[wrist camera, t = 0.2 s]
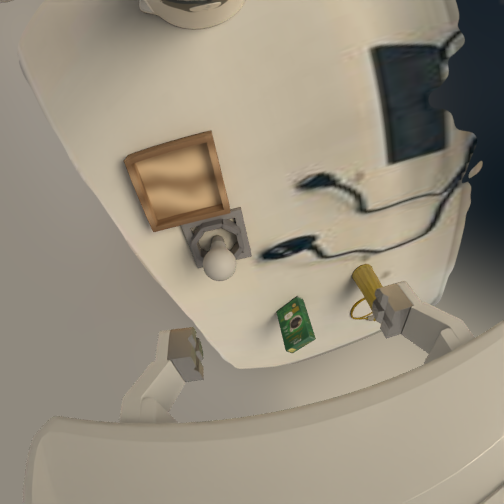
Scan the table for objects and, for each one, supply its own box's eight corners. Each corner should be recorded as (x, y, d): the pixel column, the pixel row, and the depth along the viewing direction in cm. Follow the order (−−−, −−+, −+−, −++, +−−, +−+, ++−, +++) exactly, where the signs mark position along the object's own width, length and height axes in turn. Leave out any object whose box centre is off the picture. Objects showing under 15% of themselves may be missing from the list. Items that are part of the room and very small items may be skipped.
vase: (347, 277, 70) (369, 318, 59) (362, 261, 67) (386, 302, 56) (361, 282, 73) (382, 322, 62) (375, 267, 70) (399, 306, 59)
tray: (128, 154, 42) (123, 160, 40) (211, 130, 42) (211, 134, 40) (155, 223, 52) (153, 232, 49) (229, 205, 52) (230, 213, 49)
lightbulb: (196, 237, 55) (196, 274, 47) (219, 220, 54) (223, 256, 45) (215, 254, 59) (218, 292, 50) (238, 239, 57) (245, 276, 49)
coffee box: (282, 315, 76) (292, 354, 66) (275, 312, 75) (285, 352, 64) (303, 299, 73) (317, 338, 63) (296, 295, 71) (310, 336, 61)
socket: (180, 221, 52) (179, 228, 50) (240, 207, 52) (242, 213, 50) (197, 265, 60) (197, 273, 58) (251, 253, 60) (252, 261, 58)
